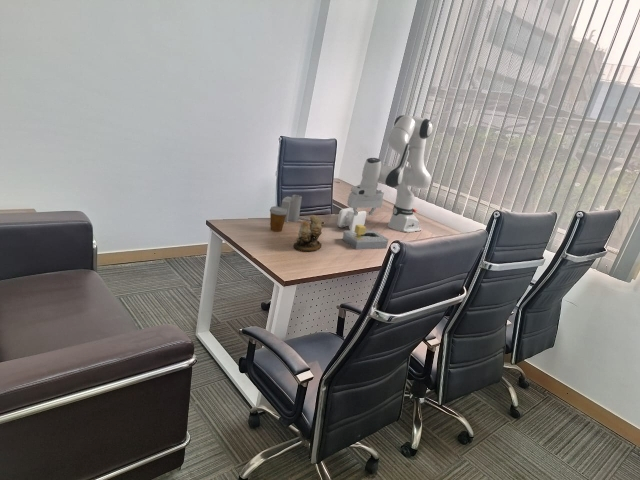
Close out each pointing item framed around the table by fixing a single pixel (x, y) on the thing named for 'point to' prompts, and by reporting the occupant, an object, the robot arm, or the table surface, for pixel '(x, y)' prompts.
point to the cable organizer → (351, 218)
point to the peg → (360, 230)
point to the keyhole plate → (365, 240)
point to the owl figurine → (309, 235)
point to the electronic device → (293, 208)
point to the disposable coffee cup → (277, 218)
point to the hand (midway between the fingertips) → (363, 215)
